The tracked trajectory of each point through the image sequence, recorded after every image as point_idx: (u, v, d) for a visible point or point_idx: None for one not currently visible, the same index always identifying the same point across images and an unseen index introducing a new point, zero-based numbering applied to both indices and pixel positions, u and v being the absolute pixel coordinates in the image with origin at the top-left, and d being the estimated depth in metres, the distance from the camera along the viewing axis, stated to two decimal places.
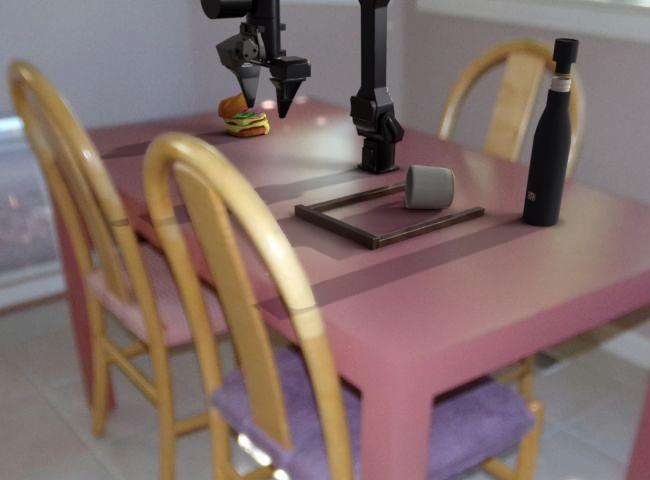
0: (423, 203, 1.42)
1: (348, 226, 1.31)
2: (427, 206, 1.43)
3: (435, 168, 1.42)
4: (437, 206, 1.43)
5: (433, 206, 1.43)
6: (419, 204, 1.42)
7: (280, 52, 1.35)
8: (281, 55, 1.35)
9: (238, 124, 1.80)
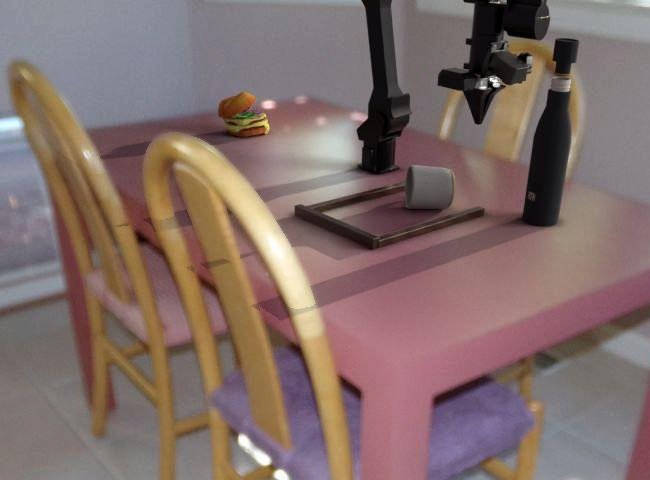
0: (423, 203, 1.42)
1: (348, 226, 1.31)
2: (427, 206, 1.43)
3: (435, 168, 1.42)
4: (437, 206, 1.43)
5: (433, 206, 1.43)
6: (419, 204, 1.42)
7: None
8: None
9: (238, 124, 1.80)
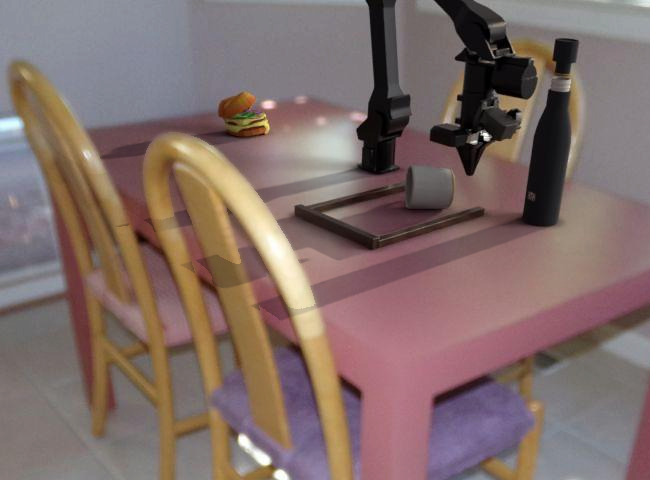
0: (423, 203, 1.42)
1: (348, 226, 1.31)
2: (427, 206, 1.43)
3: (435, 168, 1.42)
4: (437, 206, 1.43)
5: (433, 206, 1.43)
6: (419, 204, 1.42)
7: None
8: None
9: (238, 124, 1.80)
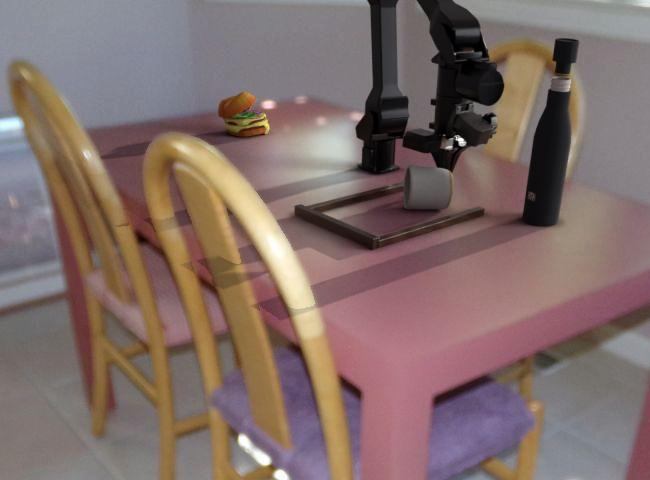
0: (421, 204, 1.42)
1: (348, 226, 1.31)
2: (425, 207, 1.43)
3: (433, 168, 1.42)
4: (435, 207, 1.43)
5: (431, 207, 1.43)
6: (417, 204, 1.42)
7: None
8: None
9: (238, 124, 1.80)
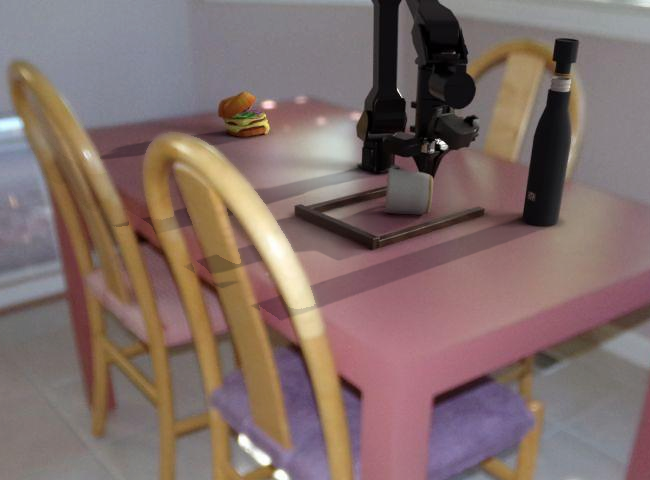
0: (399, 208, 1.39)
1: (348, 226, 1.31)
2: (403, 211, 1.40)
3: (413, 173, 1.39)
4: (414, 212, 1.40)
5: (410, 211, 1.40)
6: (395, 209, 1.40)
7: None
8: None
9: (238, 124, 1.80)
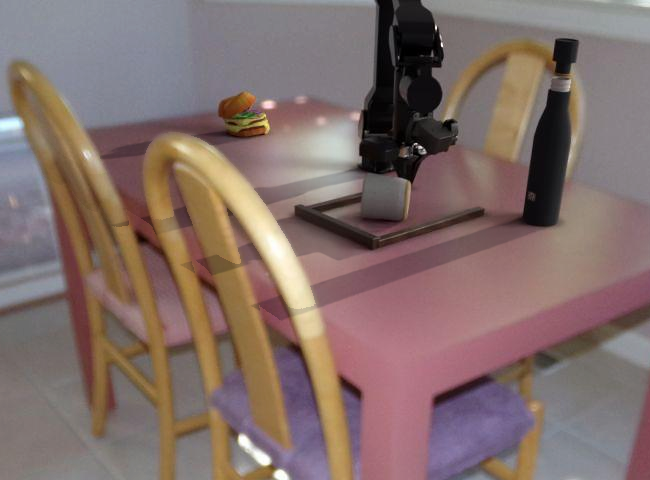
0: (374, 213, 1.37)
1: (348, 226, 1.31)
2: (379, 216, 1.37)
3: (390, 178, 1.36)
4: (390, 217, 1.37)
5: (385, 217, 1.37)
6: (370, 214, 1.37)
7: None
8: None
9: (238, 124, 1.80)
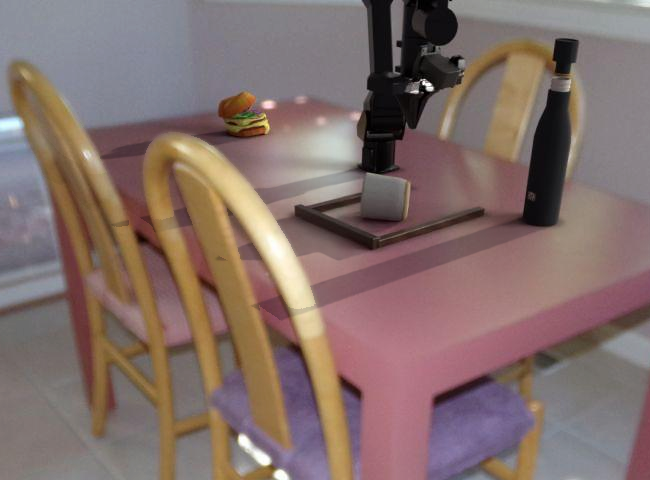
0: (374, 214, 1.36)
1: (348, 226, 1.31)
2: (379, 217, 1.37)
3: (390, 178, 1.36)
4: (389, 217, 1.37)
5: (385, 217, 1.37)
6: (369, 214, 1.37)
7: None
8: None
9: (238, 124, 1.80)
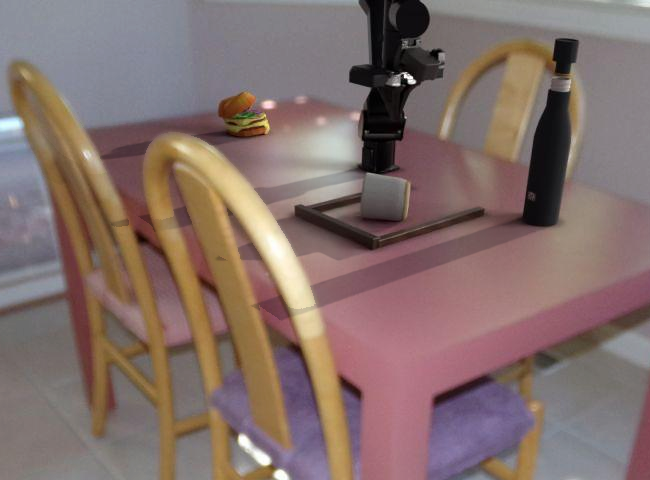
0: (374, 214, 1.36)
1: (348, 226, 1.31)
2: (379, 217, 1.37)
3: (390, 178, 1.36)
4: (389, 217, 1.37)
5: (385, 217, 1.37)
6: (369, 214, 1.37)
7: None
8: None
9: (238, 124, 1.80)
